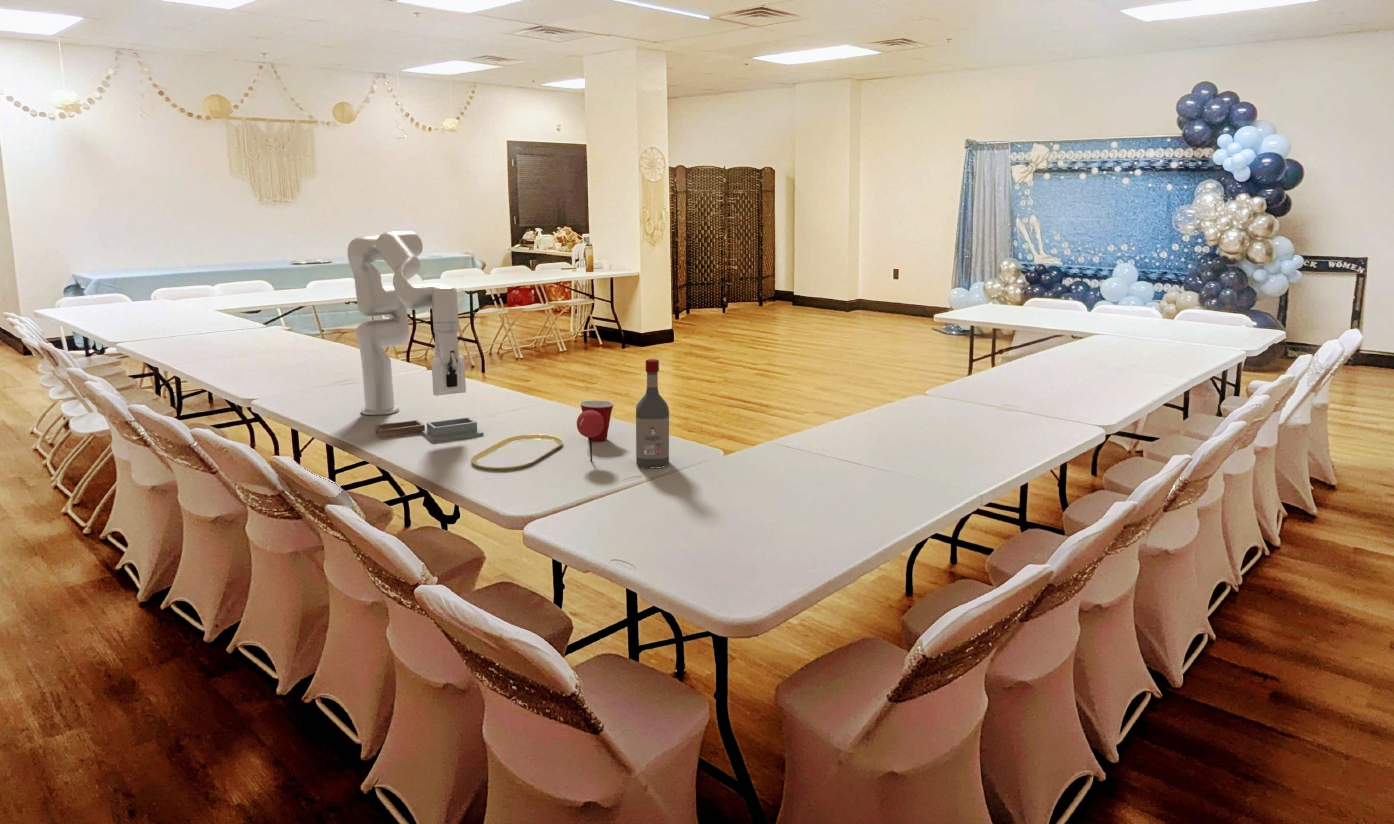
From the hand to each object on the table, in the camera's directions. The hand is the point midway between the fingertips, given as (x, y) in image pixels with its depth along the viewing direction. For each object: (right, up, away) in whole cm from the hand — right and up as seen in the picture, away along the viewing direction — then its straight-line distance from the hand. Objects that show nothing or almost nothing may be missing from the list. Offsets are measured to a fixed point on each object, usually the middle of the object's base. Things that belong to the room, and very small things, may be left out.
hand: (449, 384), depth 282 cm
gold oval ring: (+25, -21, -15) cm, 36 cm away
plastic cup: (+46, -17, 0) cm, 49 cm away
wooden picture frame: (-17, -15, +5) cm, 24 cm away
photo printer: (0, -3, +1) cm, 3 cm away
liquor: (+64, -24, -24) cm, 73 cm away
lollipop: (+47, -23, -22) cm, 57 cm away
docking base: (0, -16, +4) cm, 16 cm away
